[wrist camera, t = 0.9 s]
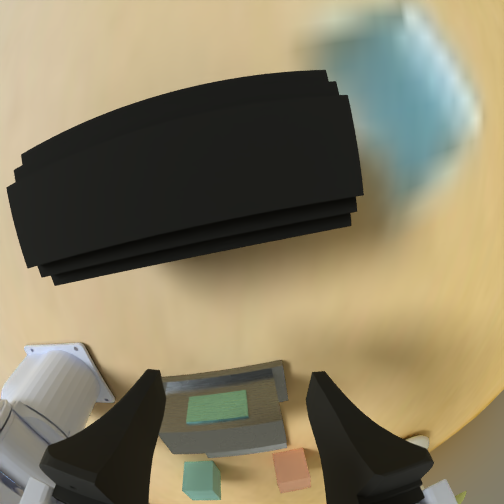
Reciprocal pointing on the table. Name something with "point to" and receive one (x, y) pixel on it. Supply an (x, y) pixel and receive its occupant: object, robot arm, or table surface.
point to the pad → (247, 451)
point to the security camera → (189, 176)
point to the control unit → (224, 409)
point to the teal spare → (202, 480)
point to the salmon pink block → (291, 470)
